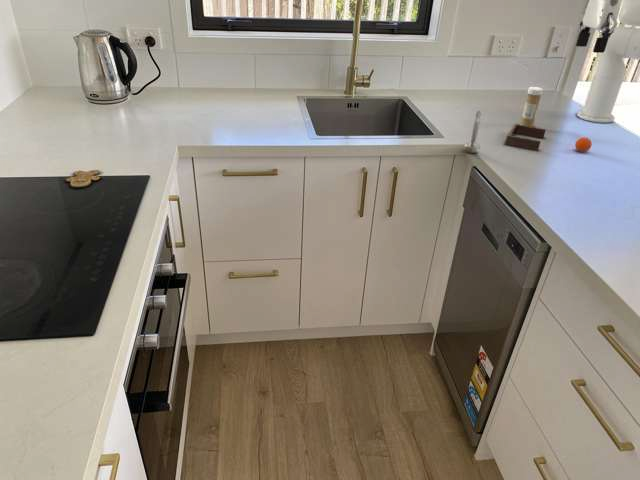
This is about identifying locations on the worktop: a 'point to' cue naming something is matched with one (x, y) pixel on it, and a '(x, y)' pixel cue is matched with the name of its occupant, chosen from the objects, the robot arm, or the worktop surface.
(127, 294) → the worktop surface
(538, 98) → the sprinkles bottle
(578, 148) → the ball
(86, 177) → the cookie
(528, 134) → the brown u-shaped piece
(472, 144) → the screw
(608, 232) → the worktop surface
